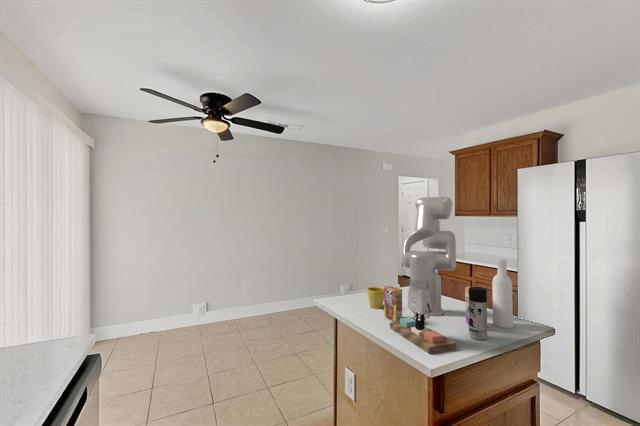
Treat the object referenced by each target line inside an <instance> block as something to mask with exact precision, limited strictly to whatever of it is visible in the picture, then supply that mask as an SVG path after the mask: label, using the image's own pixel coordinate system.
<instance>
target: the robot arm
mask: <svg viewBox="0 0 640 426" xmlns="http://www.w3.org/2000/svg"><path fill="white" fill-rule="evenodd" d="M415 208H416V216H415V217H416V218H415V219H416V220H415V228H414V231H412V232H411V233H410V234H409V235H407V237H406V239H405V241H404V243H403V244H402V245H403V246H402V253H401V263H402V265H403V266H404V267H405V268H408V269H409V285H408V286H409V287H408V291H407V308H408V309H409V310H410V311H411V312H412V313H413V316H414V320H415V328H416V329H417V330H423V329H424V328H425V327H426V326H425V320H426V319H430V318H431V316H442V315H445V313H446V312H445V309H443V308H442V279H441V276H440V274H439V272H437V271H444V272H445V271H447V272H451V271H454V270H455V269H456V267H457V246H456V245H457V242H456V236H455V233H454V232H453V231H452V230H441V229H440V226H441V225H440V222H441V221H440V220H448V219H449V218H450V216H451V213H452V211H453V200H452V199H451V197H449V196H434V197H433V196H427V197H420V198H418V199H416V201H415ZM420 241H422V246H423V247H424V248H425V249H431V250H428V251H427V250H425V251H424V250H423V251H421V250H411V248H412V247H413V246H414V245H415V244H417V243H418V242H420ZM432 249H433V250H432ZM434 249H435V250H434ZM437 249H438V251H436V250H437ZM439 250H445V251H439ZM424 326H425V327H424Z"/></svg>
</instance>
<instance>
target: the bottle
mask: <svg viewBox="0 0 640 426" xmlns="http://www.w3.org/2000/svg"><path fill="white" fill-rule="evenodd" d="M496 260H497V261H496V264H497V265H496V266H497V269H496V270H497V274H496V275H494V276H493V278H492V281H491V282H492V283H491V286H492V290H491V291H492V324H493V326H495V327H499V328H502V329H512V328H514V317H513V314H514V313H513V308H514V307H513V282H512V280H511V277H509V276H508V274H507V271H508V269H507V265H508V263H507V259H503V258H497V259H496Z"/></svg>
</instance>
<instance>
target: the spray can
mask: <svg viewBox="0 0 640 426" xmlns="http://www.w3.org/2000/svg"><path fill="white" fill-rule="evenodd" d="M468 287H469V325H468V335H469V337H470V338H471V339H473V340H476V341H486V340H487V339H488V302H487V301H488V297H487V296H488V295H487V293H488V291H487V288H485V287H481V286H468Z"/></svg>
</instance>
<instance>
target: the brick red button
mask: <svg viewBox="0 0 640 426" xmlns="http://www.w3.org/2000/svg"><path fill="white" fill-rule="evenodd" d="M443 336H444V335H443V334H442V333H440V332H438V331H435V330H433V331H428V332H424V339H425V340H427V341H428V342H430V343H432V344H434V343H441V342H444V340H443Z"/></svg>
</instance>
